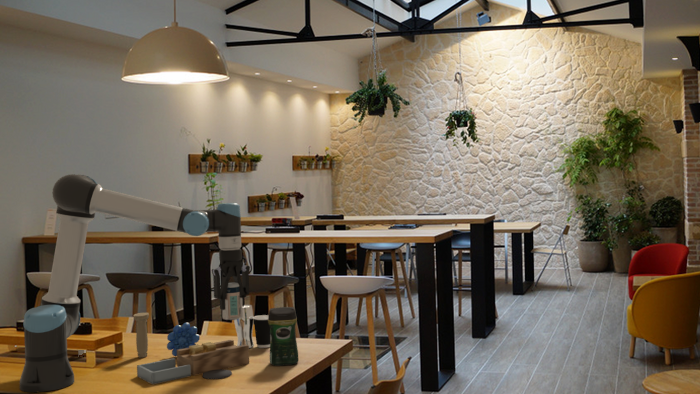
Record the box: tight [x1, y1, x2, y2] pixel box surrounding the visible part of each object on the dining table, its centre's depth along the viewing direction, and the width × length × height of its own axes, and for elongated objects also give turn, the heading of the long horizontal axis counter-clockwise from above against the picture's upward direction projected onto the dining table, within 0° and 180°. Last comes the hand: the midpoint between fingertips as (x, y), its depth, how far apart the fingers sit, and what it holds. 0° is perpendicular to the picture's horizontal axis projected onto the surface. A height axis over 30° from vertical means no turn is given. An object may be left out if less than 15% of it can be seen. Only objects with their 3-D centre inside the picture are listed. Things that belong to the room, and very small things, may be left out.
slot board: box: [176, 339, 250, 376], centre depth 220 cm, size 20×12×6 cm, turn 129°
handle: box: [133, 312, 150, 359], centre depth 234 cm, size 5×6×15 cm
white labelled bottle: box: [226, 281, 240, 321], centre depth 224 cm, size 5×5×12 cm
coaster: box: [202, 369, 233, 380], centre depth 208 cm, size 9×9×1 cm
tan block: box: [201, 342, 216, 353], centre depth 219 cm, size 3×4×3 cm
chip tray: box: [136, 357, 192, 385], centre depth 209 cm, size 12×12×4 cm
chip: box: [189, 344, 203, 355], centre depth 216 cm, size 3×4×3 cm
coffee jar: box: [268, 306, 299, 367], centre depth 221 cm, size 10×8×19 cm
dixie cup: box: [253, 314, 270, 349], centre depth 245 cm, size 8×8×11 cm
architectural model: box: [77, 350, 86, 356], centre depth 238 cm, size 3×7×7 cm, turn 8°
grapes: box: [166, 322, 201, 357], centre depth 234 cm, size 12×7×12 cm, turn 89°
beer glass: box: [233, 304, 255, 349], centre depth 244 cm, size 7×7×15 cm
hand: (232, 317), depth 224 cm, fingers closed on white labelled bottle, 5 cm apart
